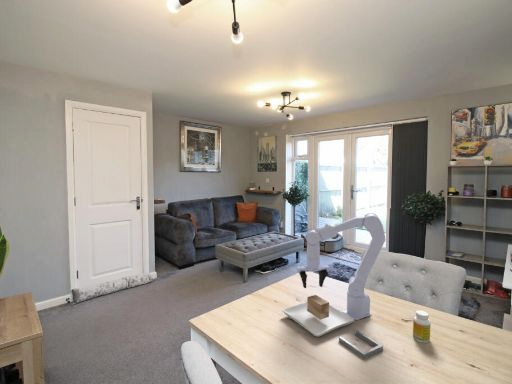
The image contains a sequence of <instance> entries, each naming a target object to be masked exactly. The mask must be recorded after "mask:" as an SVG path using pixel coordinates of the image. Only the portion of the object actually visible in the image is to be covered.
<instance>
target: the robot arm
mask: <svg viewBox="0 0 512 384" xmlns="http://www.w3.org/2000/svg"><path fill="white" fill-rule="evenodd" d="M353 228H359V229H364V228H365V230H366V231H367V232H368V233H369V235H370V237H371V240H370V242H369V245H368V246H367V248H366V250H365V252H364V255H363V257H362V259H361V261H360V263H359V265H358V267H357V269H356V270H355V271H354V274H352V276H350V277H349V278H348V288H347V293H346V309H344V310H342V311H341V312H343V313H345V314H347V315H349V316H350V317H352V318H354V321H359V320H361V319H363V318H366V317H369V316H372V313H371V297H370V295H369V294H368V293H367V292H366V291H365V286H366V284H367V280H368V277H369V275H370V272H371V270H372V269H373V267H374V264H375V262H376V260H377V258H378V256H379V254H380V252H381V250H382V248H383V246H384V244H385V242H386V235H385V231H384V229H385V228H384V224H382V221H381V219H380V217H379V216H378V215H377V214H376V213H375V212H374V213H373V212H368V213H366V214H361V215H358V216H355V217H352V218H350V219H348V220H345V221H343V222H341V223H338V224H332V223H325V225H324V226H322V227H321V226H320V227H319V228H318V227H316V228H314V229H312V230H310V231H308V233H307V234H306V237H305V241H306V245H307V246H306V265H302V266H296V272H297V273H298V274H299V276H300V279H301V281H302V282H301V283H302V287H303V288H304V289H307V278H308V274H307V272H318V287H320V288H323V286H324V282H325V279H326V278H327V276H328V272H329V271H330V266H329V265H327V264H326V265H324V264H322V265H321V264H320V262H321V261H320V259H321V258H320V256H321V254H320V252H321V247H320V242H324V241H326V240H330V239H332V238H335V237H337V235H338V233H341V232H344V231H347V230H350V229H353Z"/></svg>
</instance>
